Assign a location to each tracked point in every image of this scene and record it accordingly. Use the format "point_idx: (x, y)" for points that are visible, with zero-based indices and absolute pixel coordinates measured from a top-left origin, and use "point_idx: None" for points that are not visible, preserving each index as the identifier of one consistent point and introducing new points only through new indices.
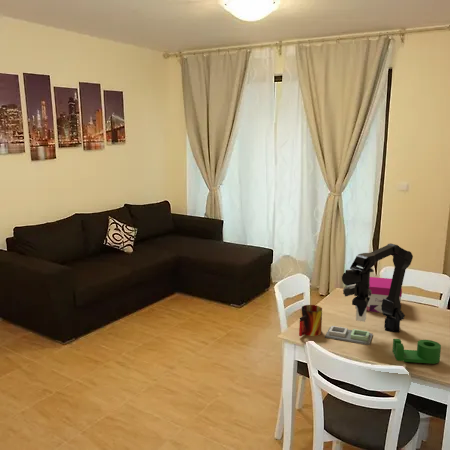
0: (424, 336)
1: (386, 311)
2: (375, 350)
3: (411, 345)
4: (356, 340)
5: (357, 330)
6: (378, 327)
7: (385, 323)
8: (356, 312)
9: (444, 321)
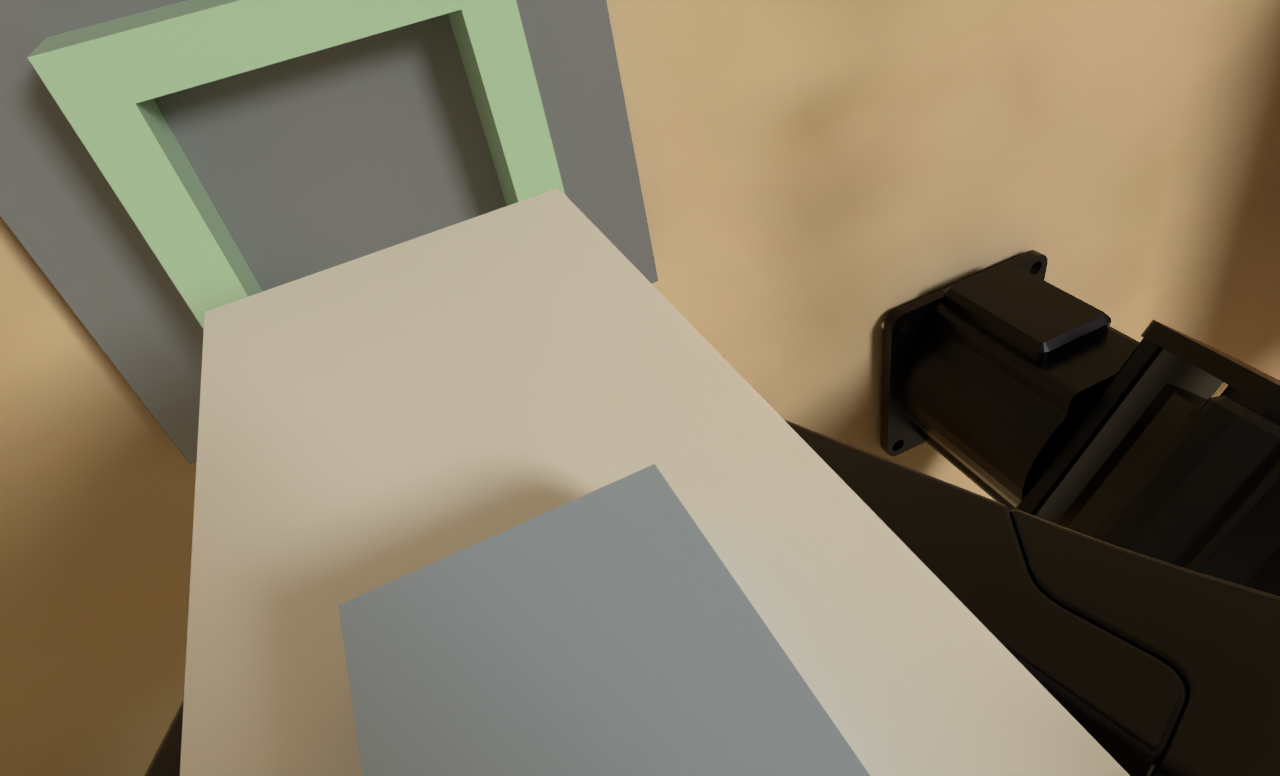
0: None
1: (1134, 516)
2: (75, 601)
3: None
4: (70, 224)
5: (485, 73)
6: (964, 188)
7: (992, 333)
8: (199, 582)
9: None
